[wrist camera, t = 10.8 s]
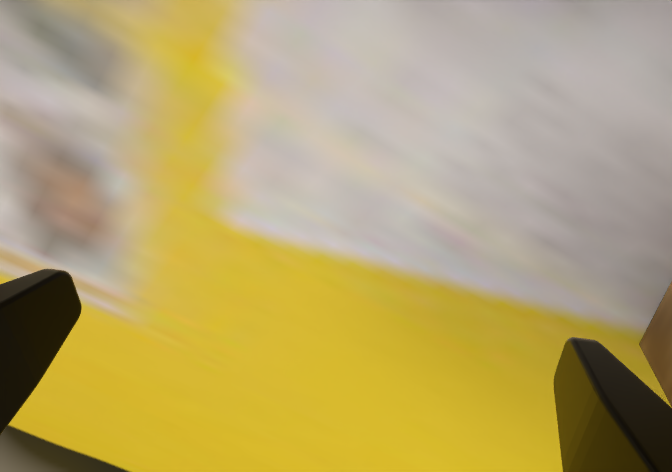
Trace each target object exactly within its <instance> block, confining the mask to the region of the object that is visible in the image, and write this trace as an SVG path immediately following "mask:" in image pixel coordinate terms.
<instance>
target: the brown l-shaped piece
mask: <svg viewBox="0 0 672 472" xmlns="http://www.w3.org/2000/svg"><path fill="white" fill-rule="evenodd" d="M639 345H640V347H641V349H642V351H643V353H644V355H645V356H646V358H647V360H648V362H649V364H650V366H651V368H652V370H653V372H654V374H655V376H656V378H657V380H658V381H659V383H660V385H661V387H662V389H663V391H664V393H665V395H666V397H667V399H668V401H669V403H670V405H671V406H672V282H671V284H670V286H669V288H668V289H667V291H666V293H665V295H664V297H663V299H662V301H661V303H660V305H659V307H658V309H657V311H656V313H655V315H654V317H653V319H652V321H651V322H650V324H649V326H648V328H647V330H646V332H645V334H644V336H643V338H642V340H641V342H640V344H639Z"/></svg>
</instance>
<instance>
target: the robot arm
mask: <svg viewBox="0 0 672 472" xmlns="http://www.w3.org/2000/svg"><path fill="white" fill-rule="evenodd" d="M80 314H81V302H80V299H79V296H78V294H77V291H76V288H75V285H74V282H73V279H72V277H71V275H70V274H69V273H68V272H66V271H62V270H55V269H43V270H40V271H37V272H34V273H32V274H29V275H26V276H23V277H20V278H17V279H14V280H12V281H9V282H6V283H3V284H0V435H1V433H2V432H3V431H4V429H5V428H6V427H7V425H8V424H9V423H10V421H11V420H12V419H13V417H14V416H15V415H16V413H17V412H18V411H19V409H20V408H21V407H22V405H23V404H24V403H25V401H26V400H27V399H28V397H29V396H30V395H31V393H32V392H33V390H34V389H35V388H36V386H37V385H38V383H39V382H40V380H41V379H42V377H43V375H44V374H45V372H46V371H47V369H48V367H49V366H50V364H51V362H52V361H53V359H54V358H55V356H56V354H57V353H58V351H59V349H60V348H61V346H62V345H63V343H64V341H65V340H66V338H67V336H68V335H69V333H70V331H71V330H72V328H73V327H74V325H75V323H76V322H77V320H78V318H79V316H80ZM554 394H555V403H556V412H557V421H558V430H559V440H560V449H561V458H562V467H563V472H672V408H671V407H670V406H669V405H668V404H667V403H665V402H664V401H663V400H662V399H661V398H660V397H659V396H658V395H657V394H656V393H654V392H653V391H652V390H651V389H650V388H649V387H648V386H647V385H646V384H645V383H643V382H642V381H641V380H640V379H639V378H638V377H637V376H636V375H635V374H634V373H632V372H631V371H630V370H629V369H628V368H627V367H626V366H625V365H624V364H623V363H621V362H620V361H619V360H618V359H617V358H616V357H615V356H614V355H613V354H612V353H610V352H609V351H608V350H607V349H606V348H605V347H604V346H603V345H602V344H600V343H599V342H597V341H595V340H590V339H582V338H575V337H572V338H570V339H568V340H567V341H566V343H565V345H564V348H563V351H562V354H561V357H560V360H559V363H558V366H557V369H556V372H555V376H554Z"/></svg>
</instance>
